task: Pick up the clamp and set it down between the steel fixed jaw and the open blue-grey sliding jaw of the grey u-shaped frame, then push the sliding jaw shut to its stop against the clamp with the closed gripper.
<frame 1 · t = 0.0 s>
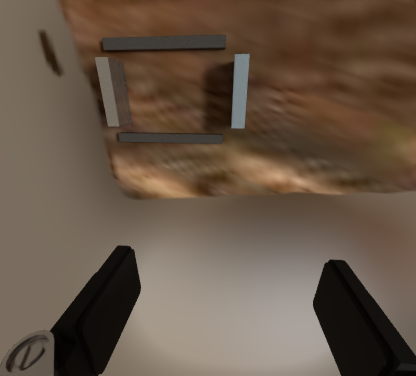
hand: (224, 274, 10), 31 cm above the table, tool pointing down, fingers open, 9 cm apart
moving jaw: (239, 94, 32), point 3 cm above the table, slide at 6.0 cm
grey u-shaped frame: (162, 94, 36), on the table
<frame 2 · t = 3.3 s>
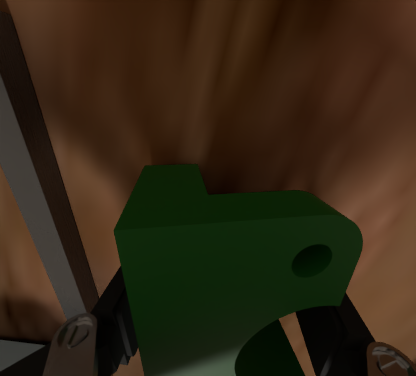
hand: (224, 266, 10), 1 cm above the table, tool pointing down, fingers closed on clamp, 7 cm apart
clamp: (223, 250, 12), on the table, touching gripper
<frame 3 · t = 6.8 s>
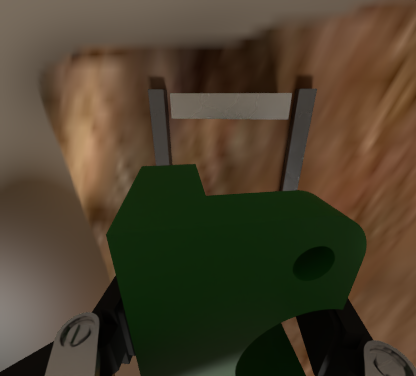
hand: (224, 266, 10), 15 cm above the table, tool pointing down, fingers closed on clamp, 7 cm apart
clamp: (223, 252, 11), point 14 cm above the table, touching gripper
grey u-shaped frame: (226, 171, 24), on the table
when the fingers open (1 cm above the table, at t = 9.8 s): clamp stays where it is, on the table.
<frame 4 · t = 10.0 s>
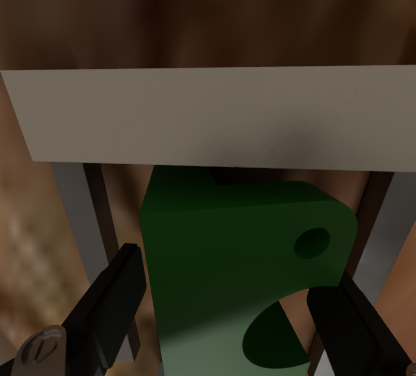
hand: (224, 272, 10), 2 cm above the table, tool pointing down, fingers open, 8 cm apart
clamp: (228, 242, 12), on the table
grey u-shaped frame: (224, 246, 12), on the table
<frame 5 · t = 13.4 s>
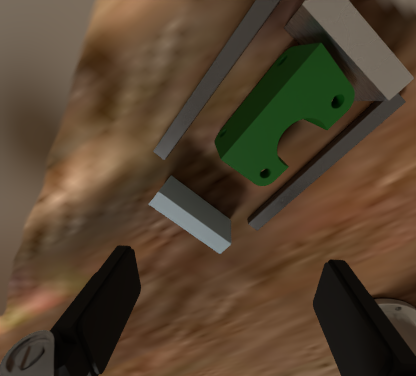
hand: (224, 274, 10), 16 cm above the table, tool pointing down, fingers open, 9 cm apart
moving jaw: (194, 213, 24), point 3 cm above the table, slide at 6.0 cm
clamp: (269, 119, 22), on the table
grey u-shaped frame: (271, 120, 22), on the table
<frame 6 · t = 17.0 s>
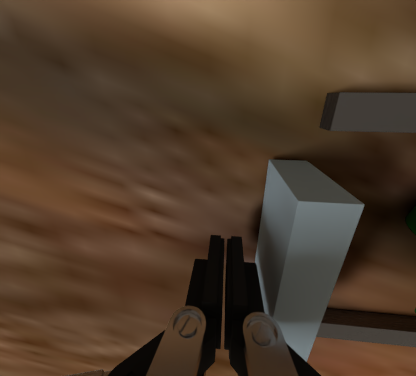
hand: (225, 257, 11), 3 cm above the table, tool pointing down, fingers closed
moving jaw: (284, 264, 11), point 3 cm above the table, slide at 4.9 cm, touching gripper
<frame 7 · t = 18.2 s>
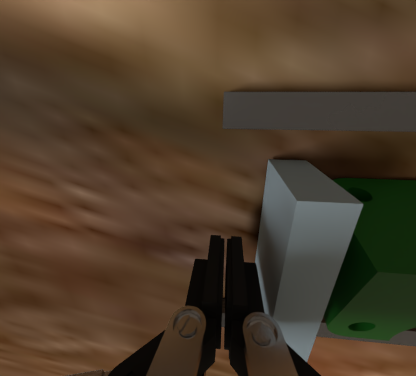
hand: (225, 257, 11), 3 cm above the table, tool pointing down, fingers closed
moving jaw: (284, 264, 11), point 3 cm above the table, slide at 0.0 cm, touching gripper
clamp: (393, 229, 13), on the table
grey u-shaped frame: (395, 239, 12), on the table
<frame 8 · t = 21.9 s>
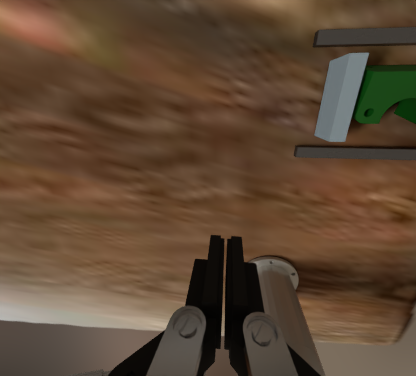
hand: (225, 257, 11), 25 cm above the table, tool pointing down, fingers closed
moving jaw: (337, 100, 27), point 3 cm above the table, slide at 0.0 cm
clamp: (381, 94, 29), on the table
grey u-shaped frame: (381, 100, 29), on the table
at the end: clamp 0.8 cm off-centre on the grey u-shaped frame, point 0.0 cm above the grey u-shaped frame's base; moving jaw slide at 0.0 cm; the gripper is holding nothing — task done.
